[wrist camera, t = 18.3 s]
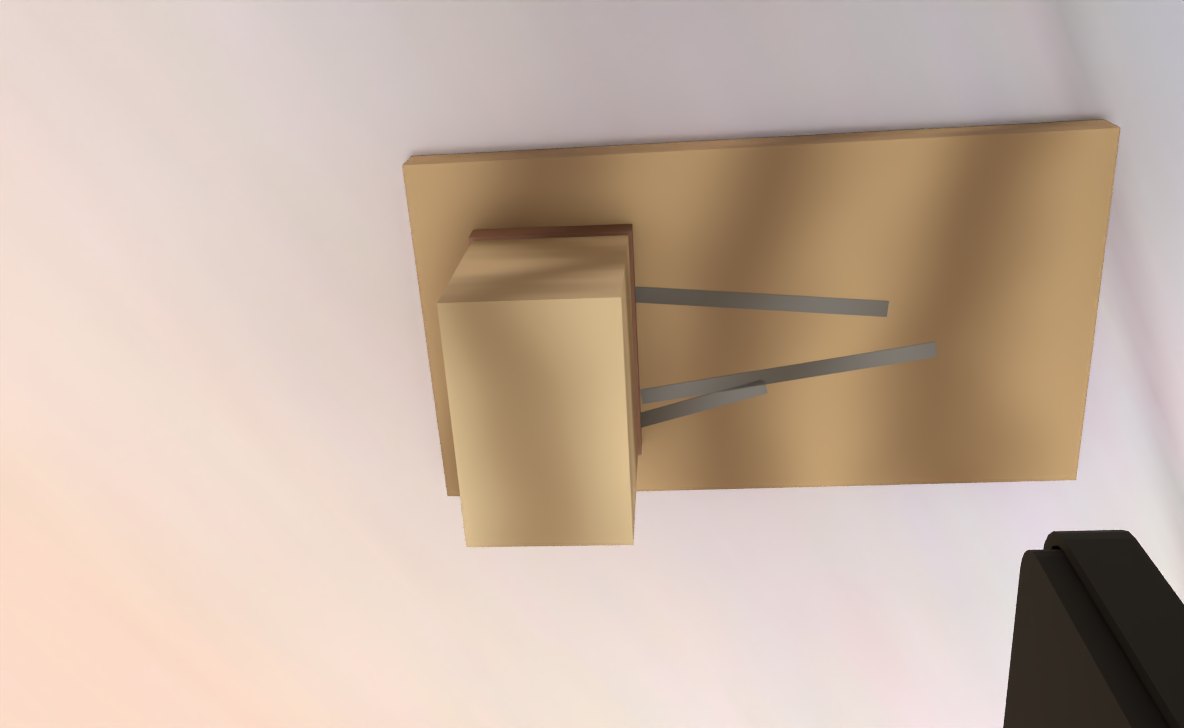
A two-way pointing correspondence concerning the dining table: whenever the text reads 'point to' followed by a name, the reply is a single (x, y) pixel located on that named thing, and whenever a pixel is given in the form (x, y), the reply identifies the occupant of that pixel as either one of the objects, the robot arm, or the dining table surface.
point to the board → (823, 294)
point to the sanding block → (544, 385)
